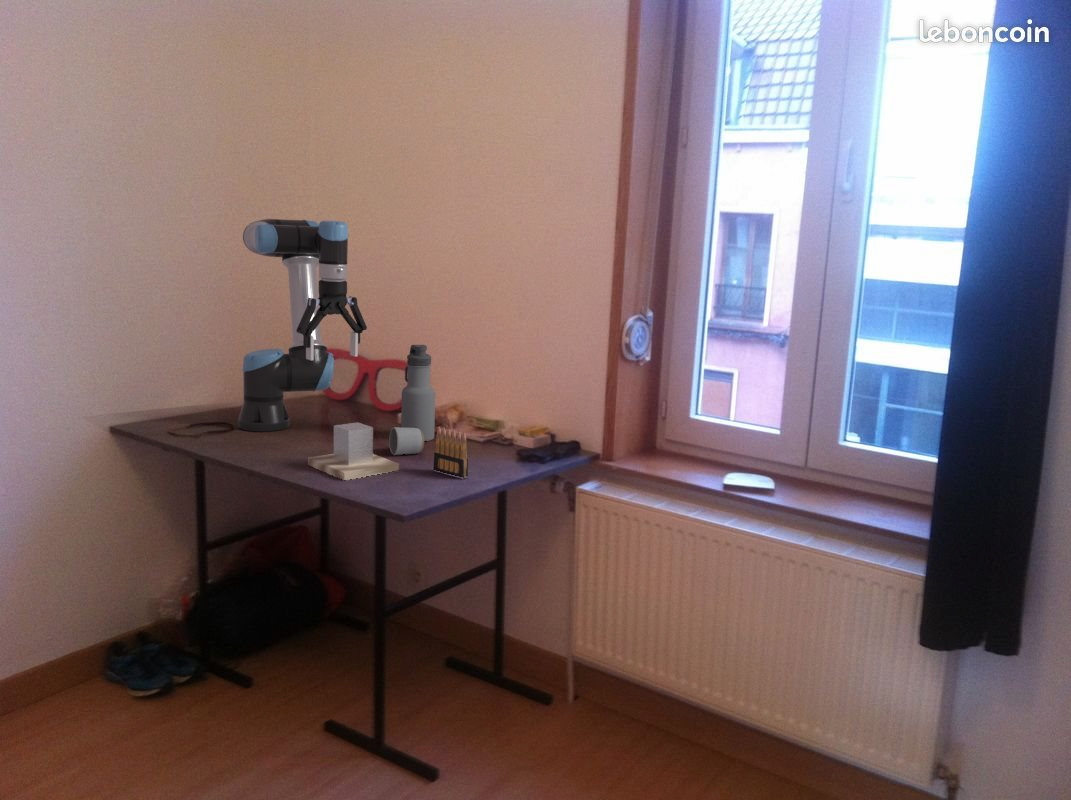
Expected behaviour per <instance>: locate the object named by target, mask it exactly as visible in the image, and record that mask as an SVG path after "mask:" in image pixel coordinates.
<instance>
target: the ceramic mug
mask: <svg viewBox="0 0 1071 800" xmlns="http://www.w3.org/2000/svg"><path fill="white" fill-rule="evenodd" d="M388 437H389V438H388V443H389V445H388V446H389V450H390V453H391V455H392V454H393V455H392V456H401V455H402V456H404V455H403V454H405V455H416V453H417V454H420V453H422V451H423V449H424V447H425V446H424V445H425V442H424V436H423V433H422V431H421V430H420V429H418V428H401V426H400V427H398V426H397V427H396V426H394V427H392V428H391V429H390V431H389V436H388Z"/></svg>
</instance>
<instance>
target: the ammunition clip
mask: <svg viewBox="0 0 1071 800" xmlns="http://www.w3.org/2000/svg"><path fill="white" fill-rule="evenodd" d="M436 431H437V432H436V439H435V452H433V467H432V468H433V469H432V470H436V471H440V472H443V473H447V474H451V475H455V476H459V477H463V478H464V477H466V476H468V477H469V459H468V458H467V457H468V456H467V454H468V447H467V436H466V432H463V433H462V435H461V432H460V430H458V431H457V433H456V430H455V429H453V430H452V432H451V429H450V428H448V429H447V431H446V428H445V427H443V428H442V430H441V427H440V426H438V427H437V430H436Z"/></svg>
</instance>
